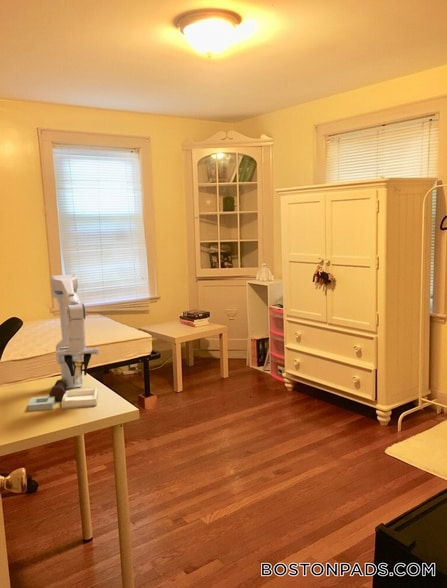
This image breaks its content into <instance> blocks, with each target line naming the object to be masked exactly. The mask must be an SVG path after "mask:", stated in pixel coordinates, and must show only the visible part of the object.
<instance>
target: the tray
mask: <svg viewBox="0 0 447 588" xmlns="http://www.w3.org/2000/svg"><path fill="white" fill-rule="evenodd" d="M65 391H66V393H65V394H64V396H63V399H62V400H61V409H62V410H65V409H73V408H74V409H75V408H76V409H77V408H86V407H97V404H98V399H99V394H98V393H99V392H98V387H97V388H88V389H73V390H72V389H71V390H65Z"/></svg>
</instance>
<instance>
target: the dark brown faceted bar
mask: <svg viewBox="0 0 447 588" xmlns="http://www.w3.org/2000/svg"><path fill="white" fill-rule="evenodd" d="M67 385H68V384H67V383H66V381H65V380H64V379H62V378H61V379H57V380H56V382H55V384H54V385H53V386H52V388H51V390H50V391H49V393H48V396H55V402H57V401H62V399H63V396H64V394H65V393H66V391H67V388H66V387H67Z"/></svg>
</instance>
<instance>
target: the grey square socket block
mask: <svg viewBox="0 0 447 588" xmlns="http://www.w3.org/2000/svg"><path fill="white" fill-rule="evenodd" d="M55 403H56V401H55V396H50V395H45V396H36V397H31V398H30V400H29V402H28V404H27V412H31V411H42V410H52V409H54V406H55Z"/></svg>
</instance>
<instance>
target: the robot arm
mask: <svg viewBox="0 0 447 588" xmlns="http://www.w3.org/2000/svg"><path fill="white" fill-rule="evenodd" d="M49 283H50V292H51V295H52V298H54V299H56V300H57V304H58V308H59V309H58V311H59V318H60V319H59V320H60V329H61V330H60V331H61V340H60V341H59V342H58V343H57V344H56V345H55V359H56V362H57V364H58V365H60V375H61V379H64V380H65V381H66V383H67V384H68V385H67V387H66V389H75V388H82V386H83V385H82V384H83V383H82V384H81V385H74V384H73V375H74V365H73V364H72V362H73V361H77V360H80V361H84V365H83V375H84V376H87V373H88V367H89V364H90V360H91V358H92V355H100V349H99V347H86V345H87V344H86V329H85V327H86V326H85V320H86V318H87V317H86V316H87V312H86V306H85V304H84V303H83V302H81V299H80V298H79V297H80V296H79V295H78V294H77V292H78V288H79V287H78V286H79V281H78V276H77V275H76V274H64V275H51V276H50V278H49ZM83 381H84V380H83V378H82V382H83Z"/></svg>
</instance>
